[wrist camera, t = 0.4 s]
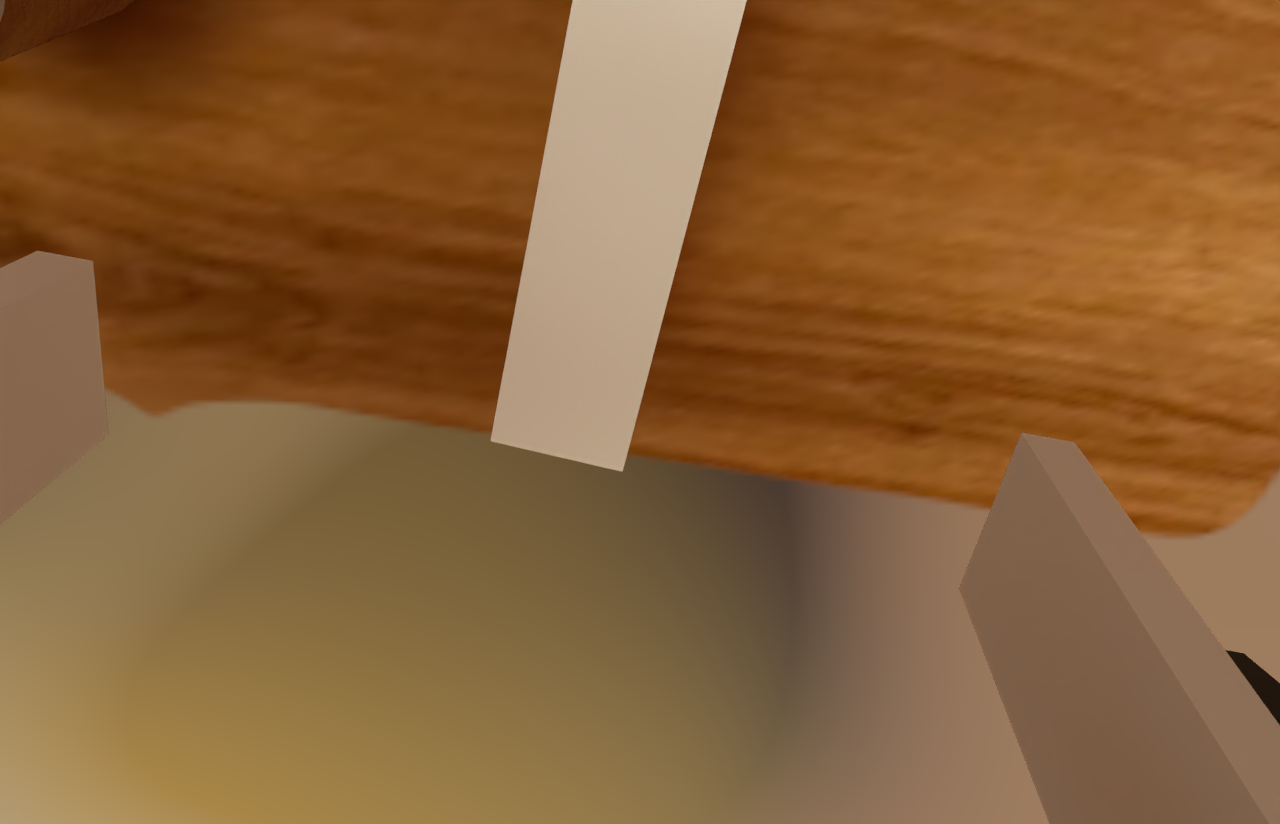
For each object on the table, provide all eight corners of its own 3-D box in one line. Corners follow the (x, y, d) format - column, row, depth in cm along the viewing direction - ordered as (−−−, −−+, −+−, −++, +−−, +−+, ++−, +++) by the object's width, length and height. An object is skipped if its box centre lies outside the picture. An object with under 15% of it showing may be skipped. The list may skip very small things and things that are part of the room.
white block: (640, 343, 37) (622, 471, 28) (540, 318, 37) (490, 441, 28) (739, -44, 31) (755, -35, 22) (619, -76, 31) (587, -79, 22)
